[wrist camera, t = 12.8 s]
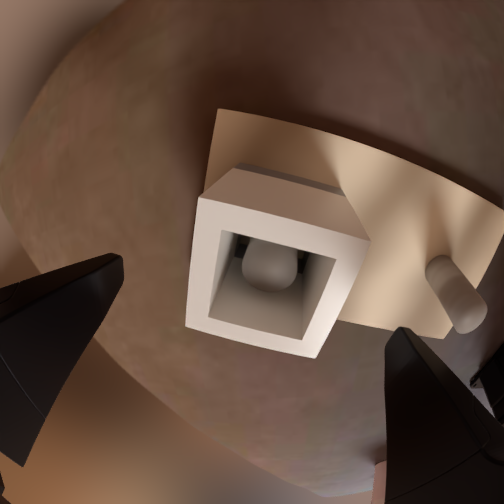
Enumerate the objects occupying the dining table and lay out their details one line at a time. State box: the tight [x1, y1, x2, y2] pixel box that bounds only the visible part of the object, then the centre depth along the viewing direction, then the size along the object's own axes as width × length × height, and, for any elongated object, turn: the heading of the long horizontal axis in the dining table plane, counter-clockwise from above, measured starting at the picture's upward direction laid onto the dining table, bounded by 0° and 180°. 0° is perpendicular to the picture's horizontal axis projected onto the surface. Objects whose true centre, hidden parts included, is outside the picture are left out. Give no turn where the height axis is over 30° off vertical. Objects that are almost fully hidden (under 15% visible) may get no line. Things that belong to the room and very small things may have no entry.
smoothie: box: [371, 461, 386, 504], centre depth 23 cm, size 6×6×14 cm
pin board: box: [204, 109, 504, 339], centre depth 12 cm, size 18×10×6 cm, turn 78°
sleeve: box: [185, 163, 371, 358], centre depth 11 cm, size 5×5×6 cm
